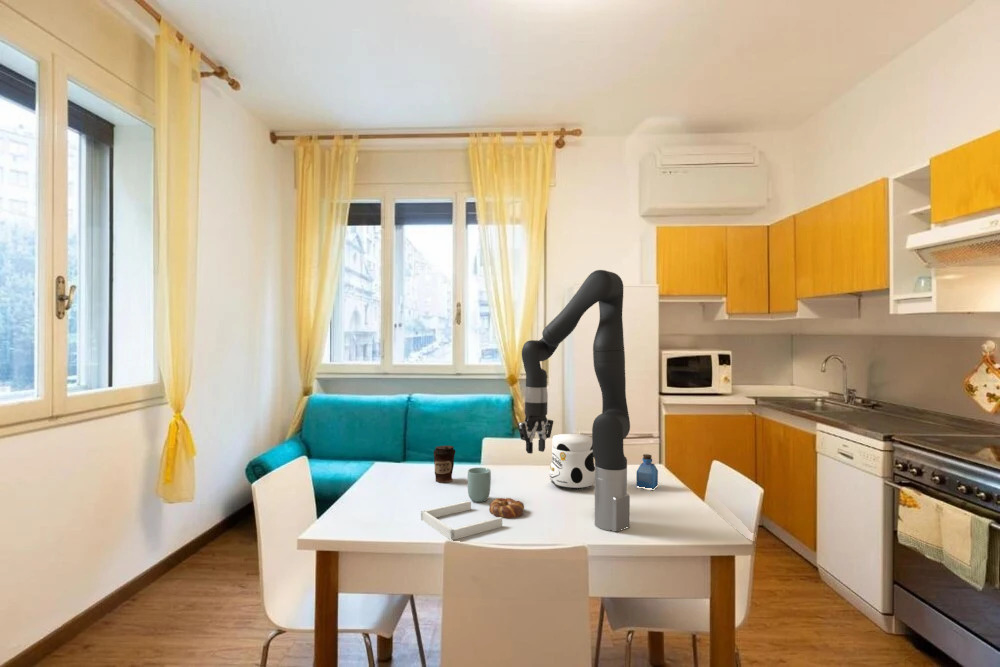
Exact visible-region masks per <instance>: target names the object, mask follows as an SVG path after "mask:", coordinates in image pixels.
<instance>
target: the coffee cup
mask: <svg viewBox="0 0 1000 667" xmlns="http://www.w3.org/2000/svg"><path fill="white" fill-rule="evenodd" d="M455 455H456V449H455V448H454V446H453V445H439V446H436V447H435V449H434V450H433V463H434V475H435V482H438V483H450V482H453V478H452V476H453V470H454V466H455V460H454V459H455Z"/></svg>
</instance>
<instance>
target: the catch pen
mask: <svg viewBox="0 0 1000 667" xmlns="http://www.w3.org/2000/svg"><path fill="white" fill-rule="evenodd" d="M470 510H472V500H466V501H462V502H456V503H452V504H448V505H443V506H438V507H433V508H430V509H425V510H421V512H420V520H421V521H423V522H424V523H425V524H427V525H428V526H430V527H431V528H432V529H434V530H435V531H437V532H438V533H440V535H441V534H442V535H443V536H444V537H445V538H447V539H448V540H450V539H452V540H451V541H454V540H458V539H461V538H465V537H469V536H473V535H477V534H479V533H484V532H487V531H490V530H491V531H492V530H494V529H495V530H496V529H499V528H503V517H495V518H490V519H486V520H483V521H479V522H476V523H471V524H467V525H463V526H460V527H456V528H455V527H454V528H452V527H450V526H449V525H447V524H446V523H445V522H443V521H441V520H440V519H438V518H439V517H440V518H441V517H443V516H447V515H448V516H449V515H454V514H458V513H462V512H466V511H470Z"/></svg>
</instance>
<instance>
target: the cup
mask: <svg viewBox="0 0 1000 667" xmlns="http://www.w3.org/2000/svg"><path fill="white" fill-rule="evenodd" d="M491 473H492V472H491V469H489V468H486V467H472V468H469V469H467V494H468V497H469V499H470V501H471V502H475V503H482V502H485V501H487V500H488V499H489V497H490V494H491V488H492V487H491V486H492V485H491V484H492V483H491V482H492V481H491V480H492V474H491Z"/></svg>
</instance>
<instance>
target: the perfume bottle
mask: <svg viewBox="0 0 1000 667" xmlns="http://www.w3.org/2000/svg"><path fill="white" fill-rule="evenodd" d="M642 456H643V457H642V459H641V460H642V463H640V464H639V466H638V468H637V470H636V483H635V484H636V485H635V486H639V487H645V488H652V489H654V488H655V487H656V486H657V485H659V484H658V483H659V479H658V478H659V471H658V468H657V467H656V464H655V463H653V458H652V456H653V455H652V454H648V453H647V454H645V453H644V454H643V455H642Z"/></svg>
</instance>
